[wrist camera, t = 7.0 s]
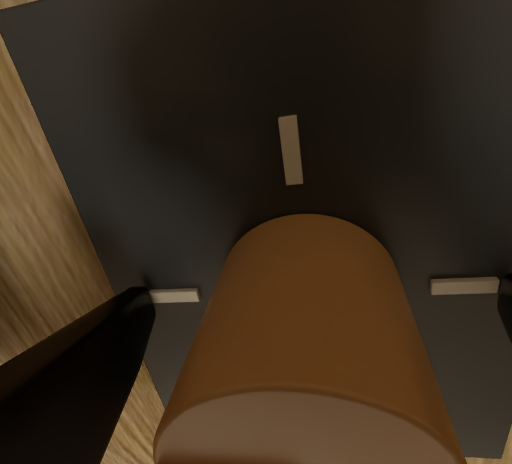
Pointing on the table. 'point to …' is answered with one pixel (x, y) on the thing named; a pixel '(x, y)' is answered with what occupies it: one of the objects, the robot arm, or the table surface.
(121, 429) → the table surface
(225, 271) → the knob
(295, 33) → the panel
